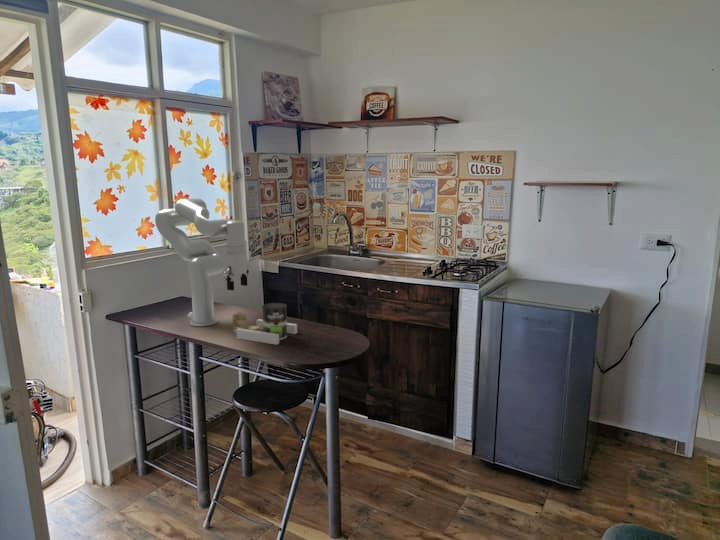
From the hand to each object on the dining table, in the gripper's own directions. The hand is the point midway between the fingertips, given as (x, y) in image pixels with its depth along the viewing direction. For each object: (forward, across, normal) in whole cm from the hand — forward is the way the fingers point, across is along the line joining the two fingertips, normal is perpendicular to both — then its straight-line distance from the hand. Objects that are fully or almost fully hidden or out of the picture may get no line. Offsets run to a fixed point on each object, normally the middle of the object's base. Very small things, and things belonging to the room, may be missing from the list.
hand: (237, 287), depth 219 cm
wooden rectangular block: (+20, 0, +5) cm, 21 cm away
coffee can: (+20, 0, +19) cm, 28 cm away
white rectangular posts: (+20, 0, +15) cm, 25 cm away
